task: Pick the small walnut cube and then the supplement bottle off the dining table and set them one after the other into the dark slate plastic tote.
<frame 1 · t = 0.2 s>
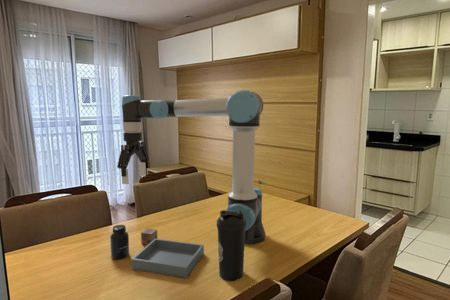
hand: (134, 179, 132), 27 cm above the table, fingers open, 13 cm apart
tote: (169, 261, 115), on the table
water bottle: (231, 274, 106), on the table
supplement bottle: (120, 255, 119), on the table
walnut cube: (149, 241, 131), on the table
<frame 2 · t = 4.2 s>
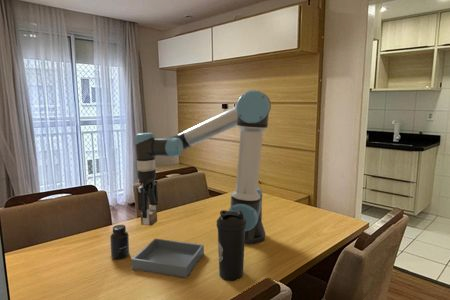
hand: (149, 221, 130), 9 cm above the table, fingers closed on walnut cube, 5 cm apart
walnut cube: (149, 223, 130), point 9 cm above the table, touching gripper
everything else where it was.
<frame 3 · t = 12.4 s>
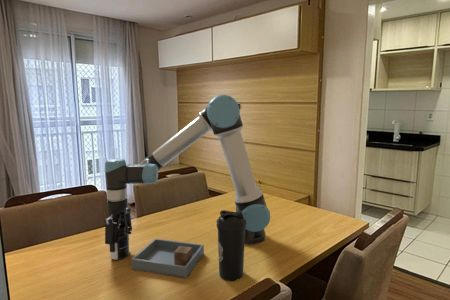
hand: (120, 254, 119), 1 cm above the table, fingers closed on supplement bottle, 7 cm apart
supplement bottle: (120, 255, 119), on the table, touching gripper
walnut cube: (183, 261, 113), point 1 cm above the table, touching tote
everything else where it was.
when the fingers open (4 cm above the table, at t = 16.8 s): supplement bottle drops 3 cm, resting on tote.
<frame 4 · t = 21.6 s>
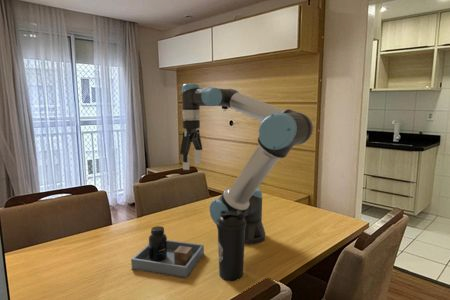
hand: (192, 166, 136), 32 cm above the table, fingers open, 13 cm apart
supplement bottle: (158, 258, 116), resting on tote
everything else where it was.
at the end: walnut cube inside the target area on the tote (5.7 cm from its centre), point 0.6 cm above the tote's base; supplement bottle inside the target area on the tote (4.9 cm from its centre), point 0.4 cm above the tote's base; the gripper is holding nothing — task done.
